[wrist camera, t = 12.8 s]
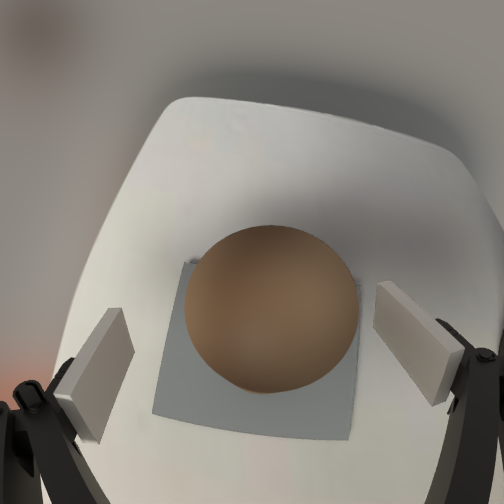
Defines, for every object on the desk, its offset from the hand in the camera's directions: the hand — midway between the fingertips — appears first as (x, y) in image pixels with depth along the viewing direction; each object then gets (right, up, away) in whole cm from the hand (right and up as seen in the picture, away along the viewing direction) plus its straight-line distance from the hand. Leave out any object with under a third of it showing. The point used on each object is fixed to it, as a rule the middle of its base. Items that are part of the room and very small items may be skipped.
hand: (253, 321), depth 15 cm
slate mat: (+1, -4, +7) cm, 8 cm away
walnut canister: (+1, -4, +6) cm, 7 cm away
